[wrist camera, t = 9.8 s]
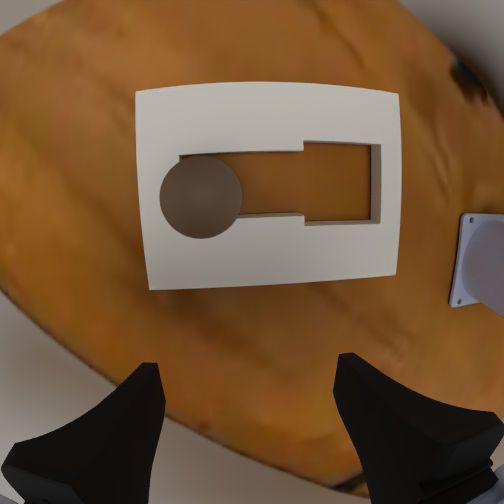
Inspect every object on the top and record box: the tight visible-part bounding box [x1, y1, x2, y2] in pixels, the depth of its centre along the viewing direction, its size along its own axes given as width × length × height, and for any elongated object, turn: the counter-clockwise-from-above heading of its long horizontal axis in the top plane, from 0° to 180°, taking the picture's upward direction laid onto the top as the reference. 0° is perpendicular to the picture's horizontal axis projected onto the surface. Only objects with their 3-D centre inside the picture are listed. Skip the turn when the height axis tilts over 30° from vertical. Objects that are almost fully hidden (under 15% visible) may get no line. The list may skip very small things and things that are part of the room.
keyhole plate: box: [136, 82, 402, 290], centre depth 18 cm, size 16×12×2 cm
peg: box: [159, 156, 243, 239], centre depth 15 cm, size 3×3×8 cm
